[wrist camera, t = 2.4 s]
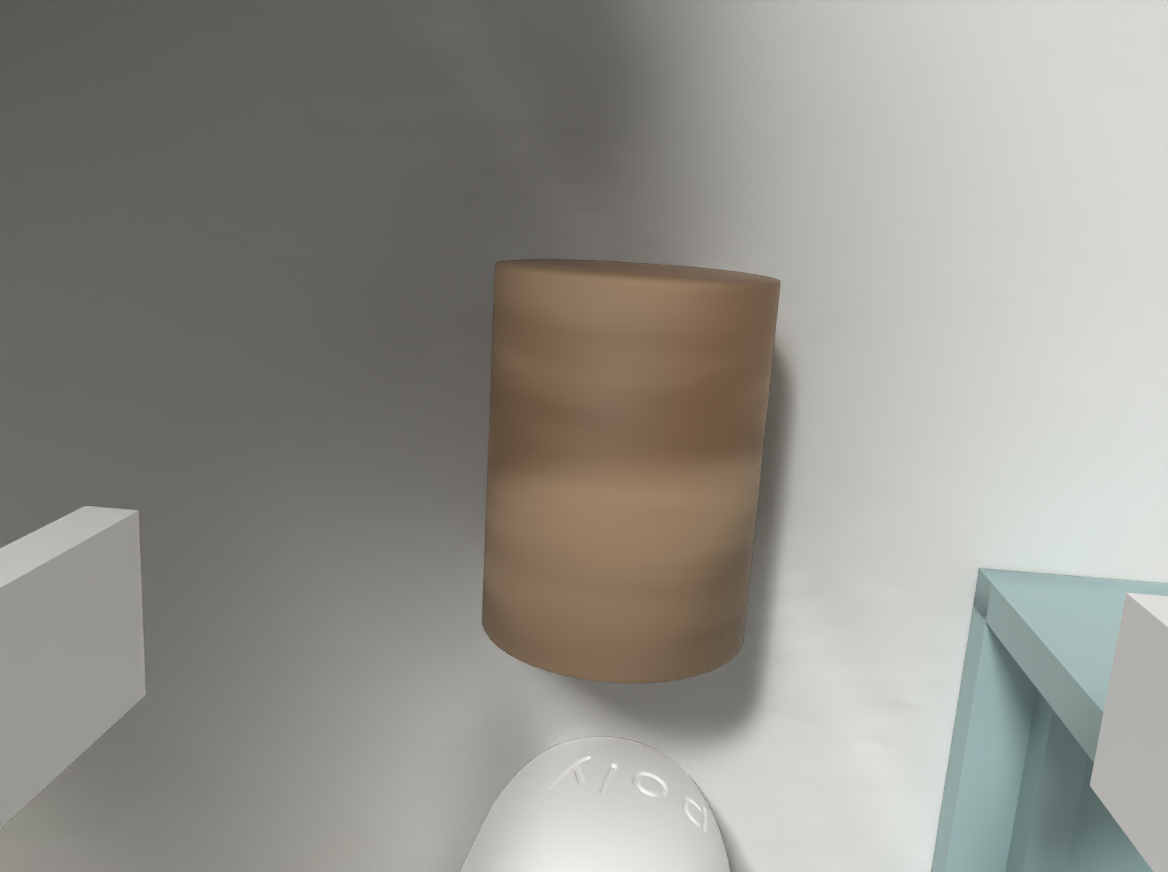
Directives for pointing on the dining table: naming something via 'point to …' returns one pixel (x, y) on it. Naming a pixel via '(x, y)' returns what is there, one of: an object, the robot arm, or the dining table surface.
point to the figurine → (599, 815)
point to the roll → (624, 464)
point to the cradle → (1034, 729)
